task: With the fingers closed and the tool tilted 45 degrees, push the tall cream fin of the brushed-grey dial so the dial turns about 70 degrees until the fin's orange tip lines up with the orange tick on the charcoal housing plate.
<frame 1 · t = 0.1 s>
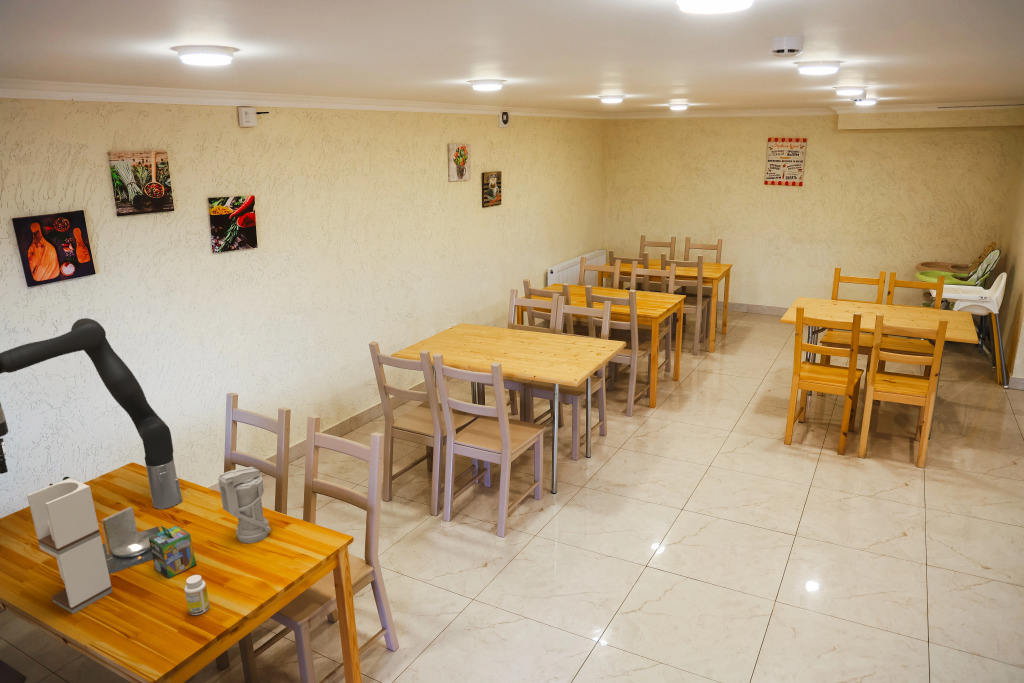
hand: (2, 468, 221), 29 cm above the table, tool pointing down, fingers open, 8 cm apart
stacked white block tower: (83, 597, 203), on the table
chalk box: (175, 567, 216), on the table
supplement bottle: (199, 610, 196), on the table
housing: (135, 551, 225), on the table
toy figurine: (68, 516, 248), on the table
dial: (128, 528, 222), point 9 cm above the table, hinge at 20.0°
gray strapped canister: (250, 537, 232), on the table
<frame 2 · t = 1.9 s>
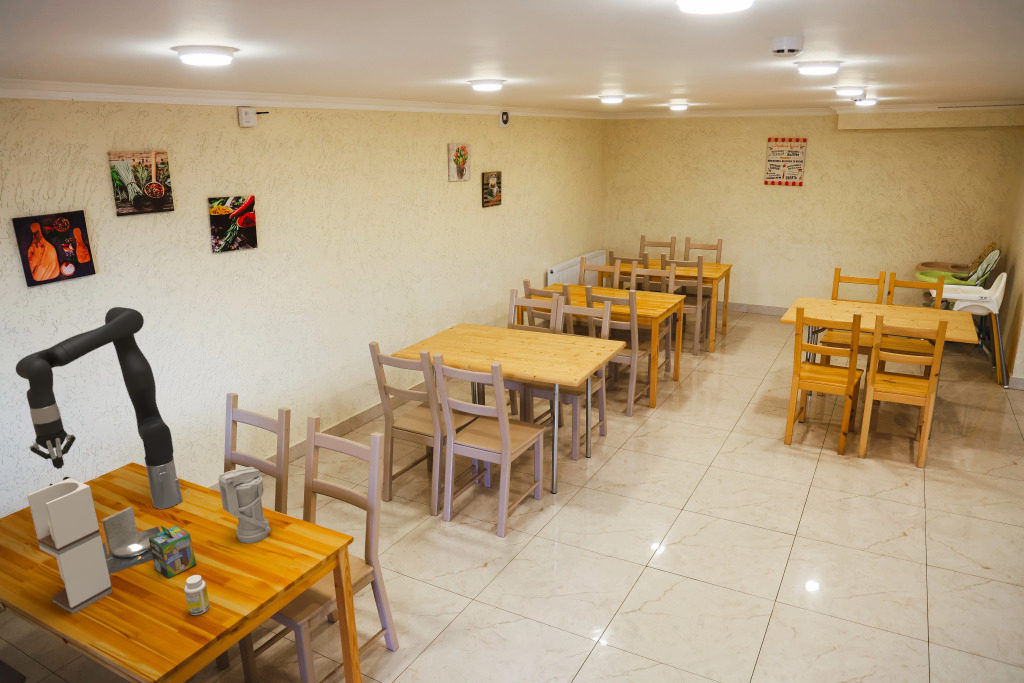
hand: (59, 467, 221), 29 cm above the table, tool pointing down, fingers closed
nothing on the table moved.
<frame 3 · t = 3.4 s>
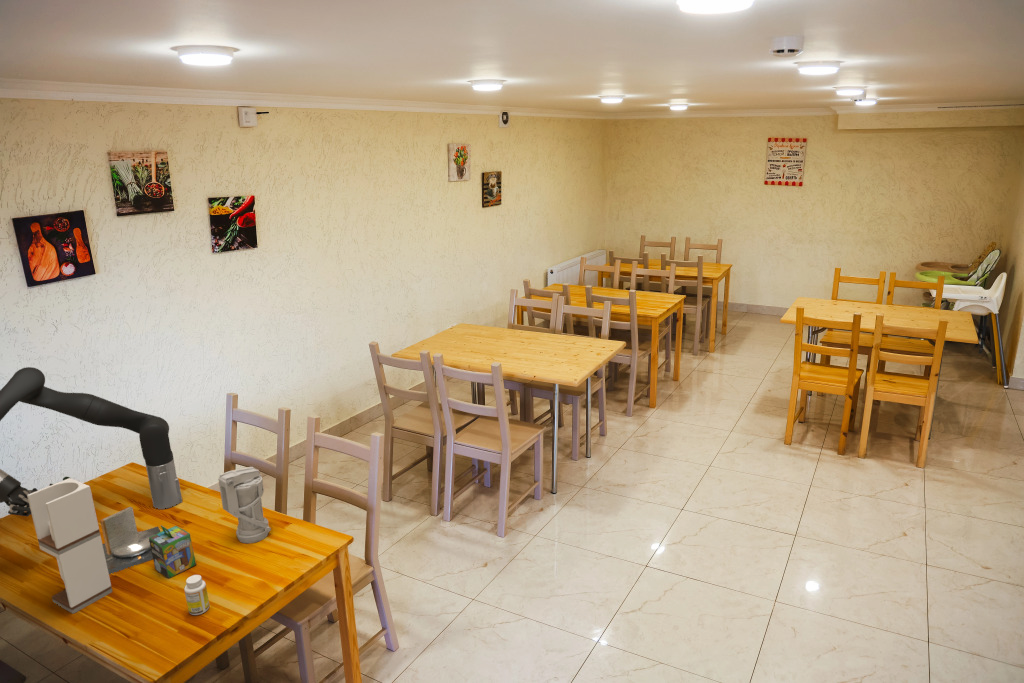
hand: (48, 517, 213), 17 cm above the table, tool tilted 45°, fingers closed
nothing on the table moved.
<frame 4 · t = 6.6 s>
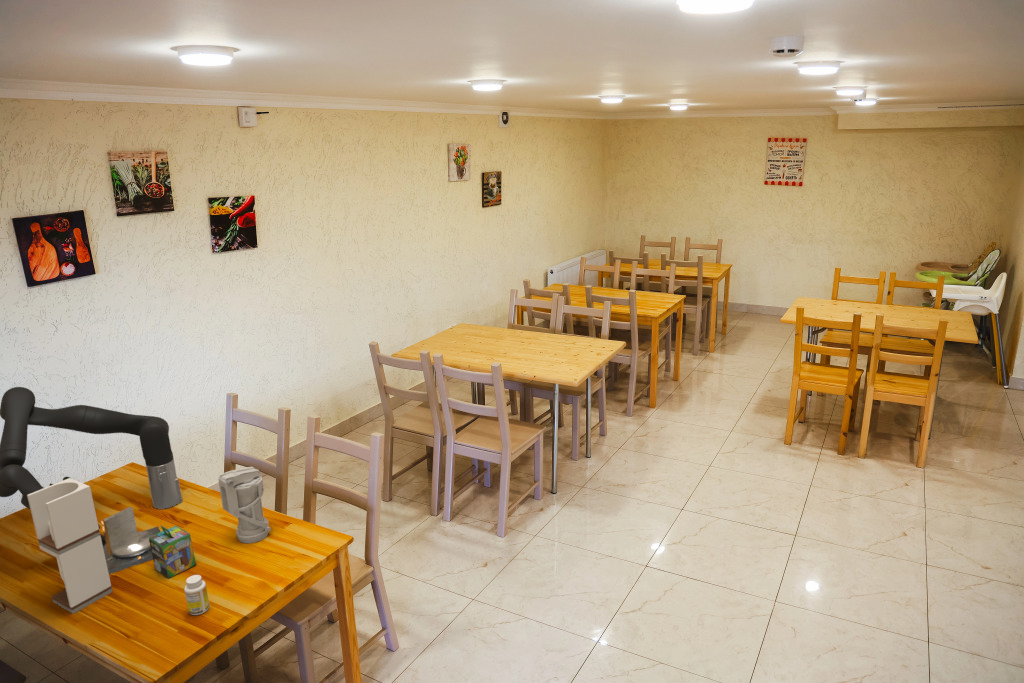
hand: (106, 543, 218), 7 cm above the table, tool tilted 45°, fingers closed
dial: (128, 529, 222), point 9 cm above the table, hinge at 22.9°
everything else where it was.
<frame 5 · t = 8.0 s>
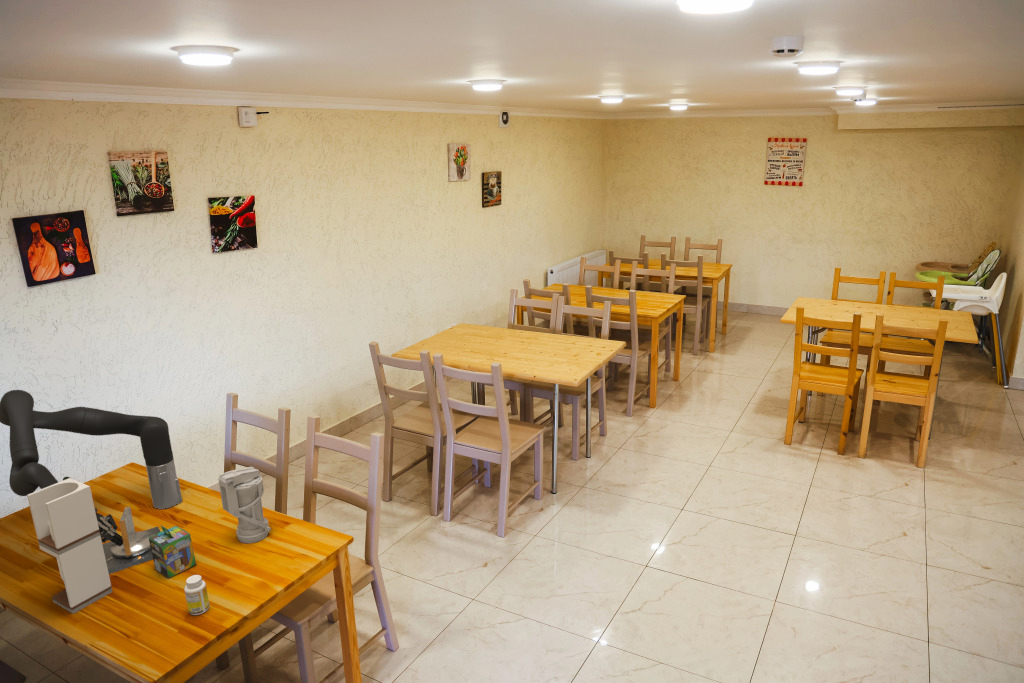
hand: (123, 543, 218), 7 cm above the table, tool tilted 45°, fingers closed
dial: (130, 529, 222), point 9 cm above the table, hinge at 70.2°, touching gripper
everything else where it was.
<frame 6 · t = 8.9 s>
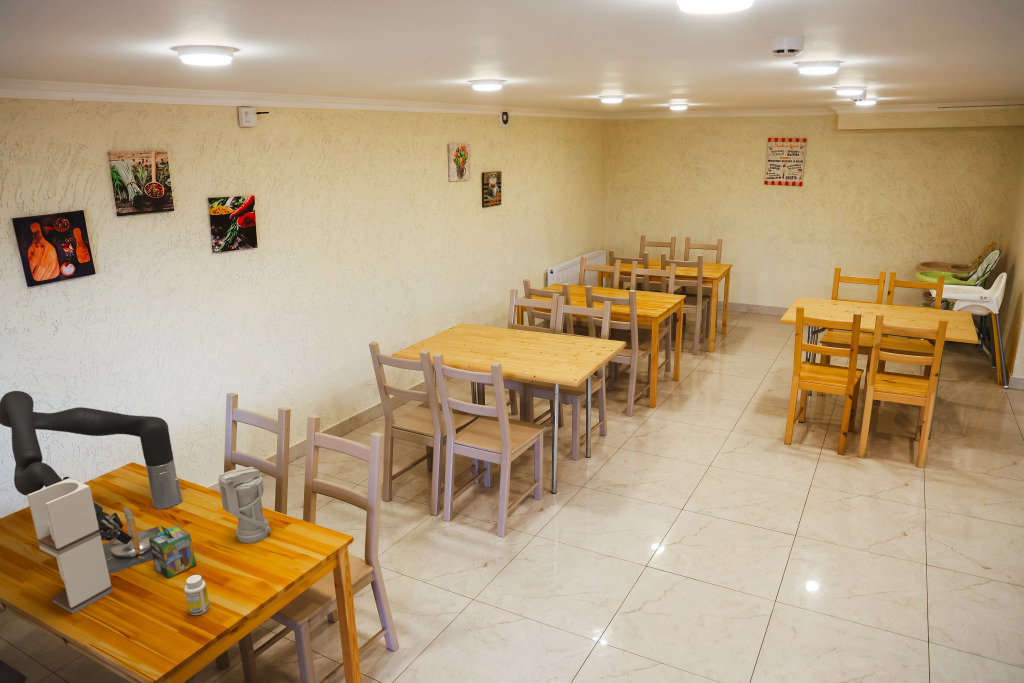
hand: (129, 541, 218), 7 cm above the table, tool tilted 45°, fingers closed
dial: (130, 528, 222), point 9 cm above the table, hinge at 89.9°, touching gripper
everything else where it was.
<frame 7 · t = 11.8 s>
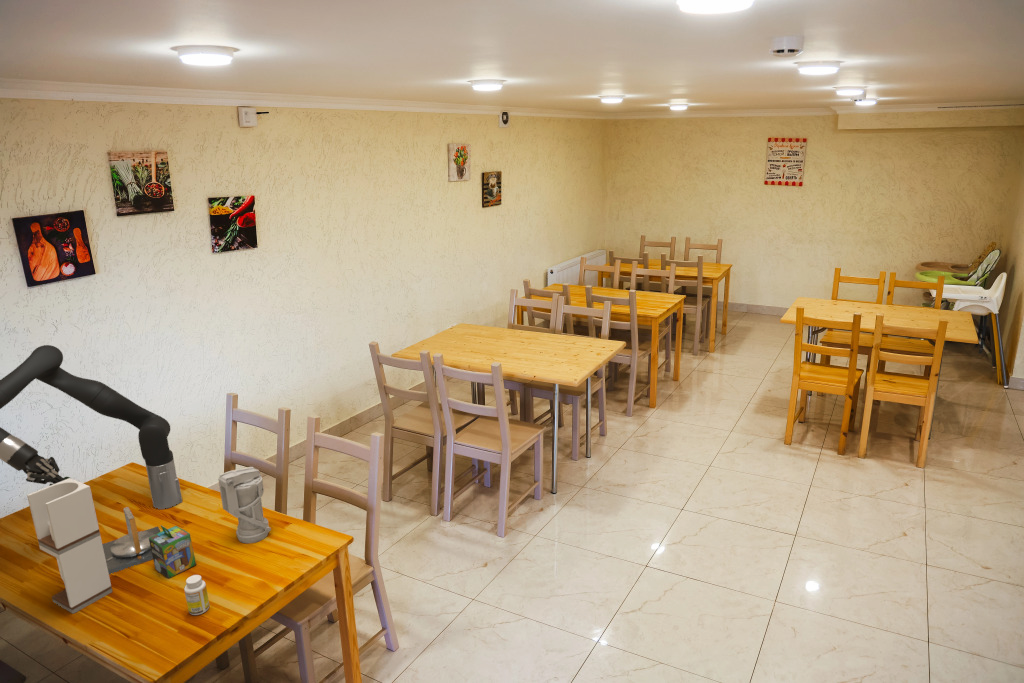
hand: (65, 485, 216), 26 cm above the table, tool tilted 45°, fingers closed
dial: (131, 528, 222), point 9 cm above the table, hinge at 90.6°
everything else where it was.
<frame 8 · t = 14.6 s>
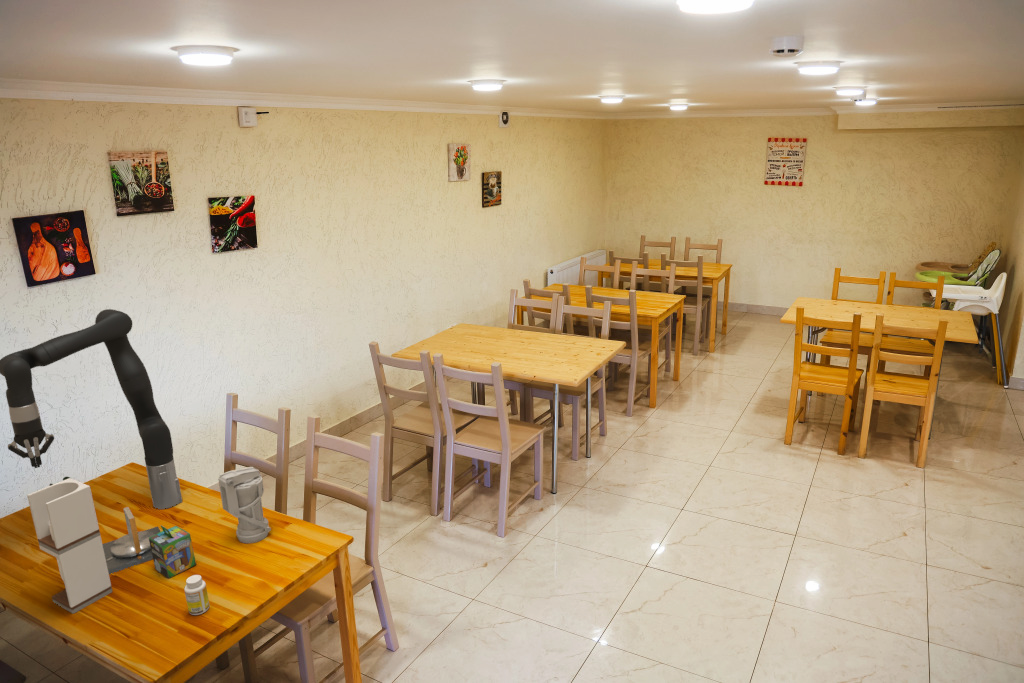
hand: (37, 466, 221), 29 cm above the table, tool pointing down, fingers closed
nothing on the table moved.
at the end: dial at +91° (first picture: +20°) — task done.
